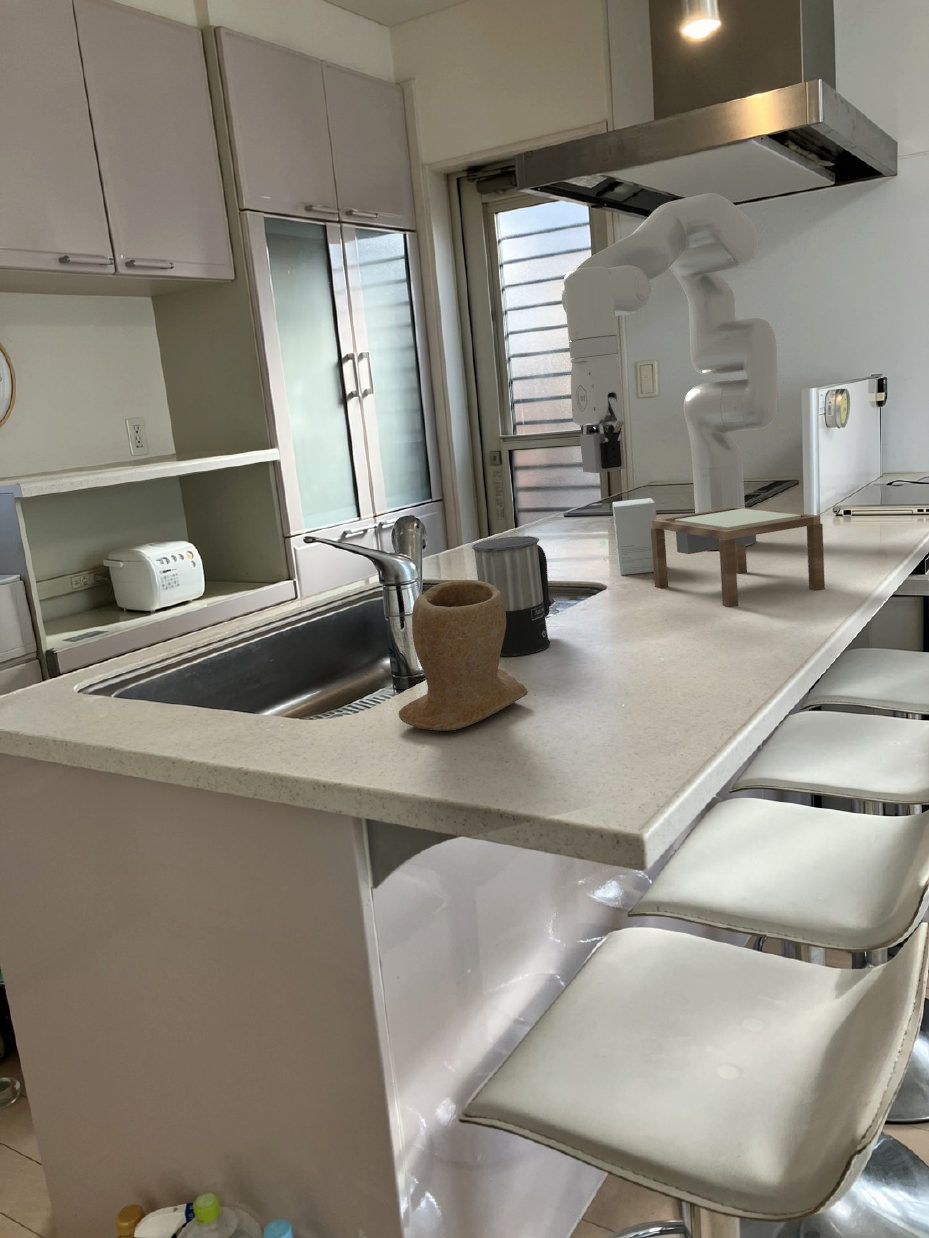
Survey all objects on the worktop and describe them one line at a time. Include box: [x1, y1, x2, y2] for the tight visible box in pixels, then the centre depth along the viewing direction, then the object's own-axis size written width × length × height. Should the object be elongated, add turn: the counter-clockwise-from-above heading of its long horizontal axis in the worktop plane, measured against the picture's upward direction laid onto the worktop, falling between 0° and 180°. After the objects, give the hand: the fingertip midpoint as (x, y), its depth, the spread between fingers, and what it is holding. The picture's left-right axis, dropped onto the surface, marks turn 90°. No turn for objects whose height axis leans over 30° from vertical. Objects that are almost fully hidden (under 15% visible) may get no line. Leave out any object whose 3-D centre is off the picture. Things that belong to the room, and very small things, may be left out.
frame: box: [651, 506, 826, 608], centre depth 160 cm, size 22×17×11 cm
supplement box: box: [612, 497, 658, 576], centre depth 183 cm, size 7×7×13 cm
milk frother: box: [471, 535, 551, 657], centre depth 140 cm, size 14×16×15 cm
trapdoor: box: [675, 509, 801, 555], centre depth 158 cm, size 15×13×5 cm
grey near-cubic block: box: [579, 430, 626, 474], centre depth 162 cm, size 5×5×6 cm
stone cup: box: [397, 579, 529, 731], centre depth 109 cm, size 15×12×15 cm
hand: (603, 465), depth 163 cm, fingers closed on grey near-cubic block, 5 cm apart
